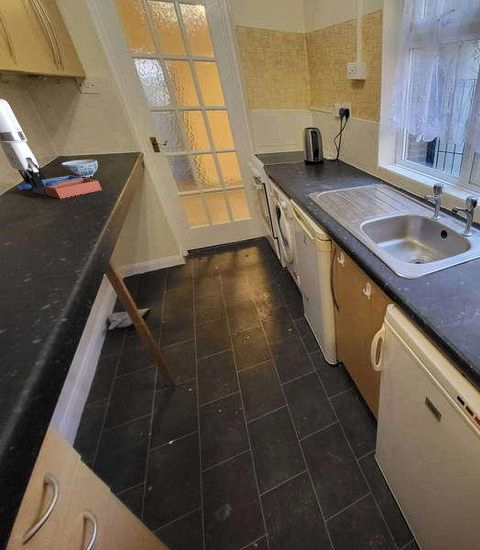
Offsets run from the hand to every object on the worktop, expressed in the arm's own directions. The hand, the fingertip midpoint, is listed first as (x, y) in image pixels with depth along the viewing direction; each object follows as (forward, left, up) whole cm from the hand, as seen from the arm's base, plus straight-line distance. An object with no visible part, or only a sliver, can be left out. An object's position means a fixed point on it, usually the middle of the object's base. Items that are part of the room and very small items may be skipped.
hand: (37, 187), depth 118 cm
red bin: (+16, +15, -8) cm, 23 cm away
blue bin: (+16, +28, -8) cm, 33 cm away
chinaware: (+36, +47, -9) cm, 60 cm away
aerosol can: (+13, +41, -9) cm, 44 cm away
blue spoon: (+1, 0, 0) cm, 1 cm away
